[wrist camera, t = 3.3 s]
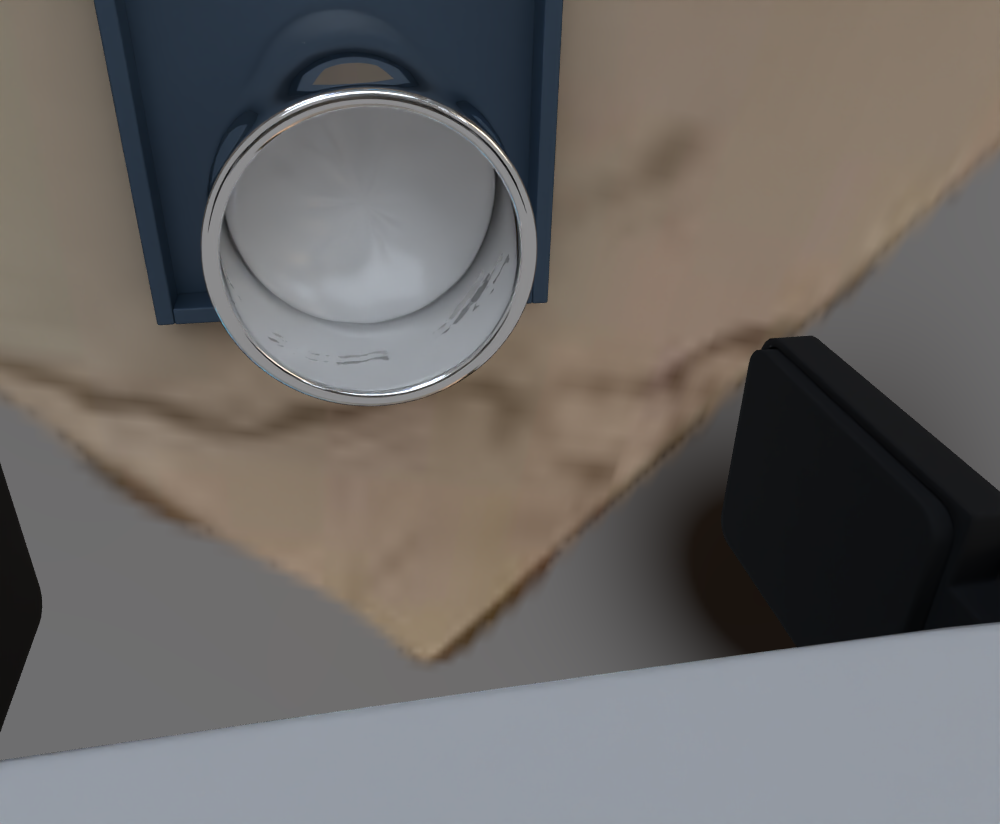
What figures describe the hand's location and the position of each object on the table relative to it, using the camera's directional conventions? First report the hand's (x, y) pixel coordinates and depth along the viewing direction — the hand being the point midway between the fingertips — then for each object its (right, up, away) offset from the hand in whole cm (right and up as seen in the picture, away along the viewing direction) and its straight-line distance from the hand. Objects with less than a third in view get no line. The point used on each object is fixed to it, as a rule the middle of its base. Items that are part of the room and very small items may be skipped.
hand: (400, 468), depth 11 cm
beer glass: (-4, +11, +19) cm, 22 cm away
